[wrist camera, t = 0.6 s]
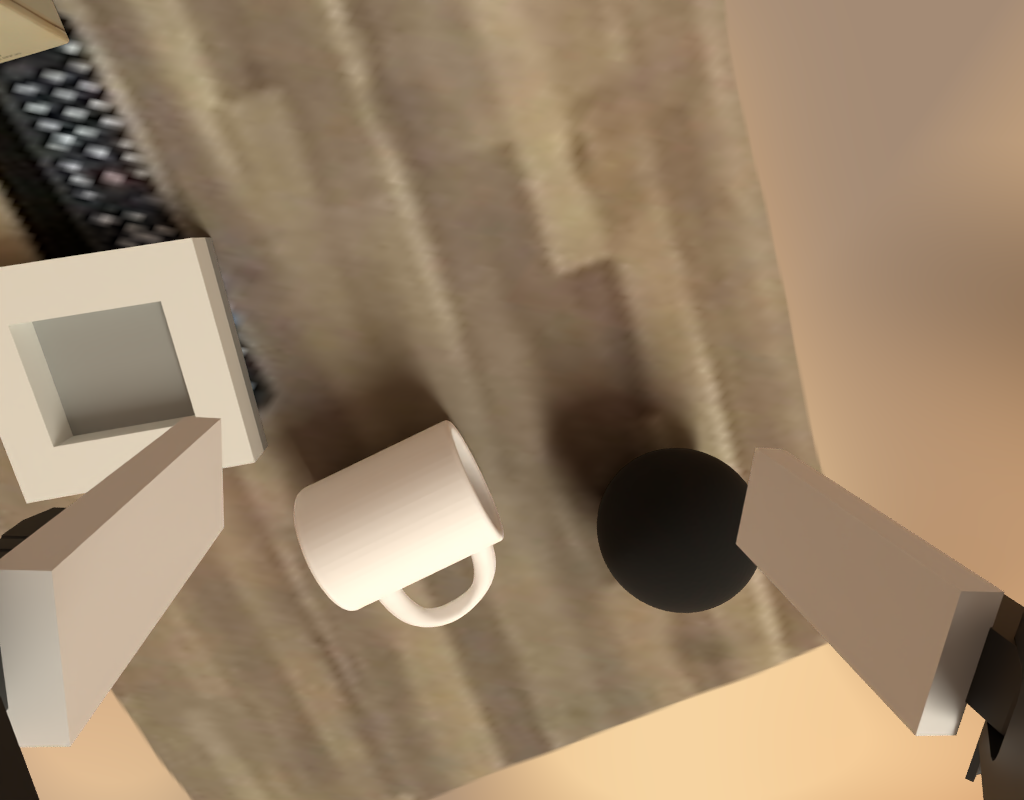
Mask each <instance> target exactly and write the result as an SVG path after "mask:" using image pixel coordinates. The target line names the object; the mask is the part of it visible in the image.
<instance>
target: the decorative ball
mask: <svg viewBox="0 0 1024 800" xmlns="http://www.w3.org/2000/svg"><path fill="white" fill-rule="evenodd" d="M747 487H748V485H747V484H746V482H745V481H744V480H743V479H742V478H741V477H740V475H739V474H738V473H737V472H736V471H734V470H733V469H732V468H731V467H730V466H728V465H727V464H725V463H724V462H722V461H721V460H719V459H717V458H715V457H713V456H711V455H708V454H706V453H703V452H700V451H696V450H691V449H683V448H669V449H661V450H657V451H653V452H650V453H647V454H644V455H642V456H640V457H638V458H636V459H635V460H633V461H631V462H630V463H629V464H627V465H626V466H625V467H623V468H622V469H621V470H620V471H619V472H618V473H617V474H616V476H615V477H614V478H613V479H612V481H611V482H610V484H609V485H608V487H607V489H606V491H605V493H604V495H603V497H602V500H601V503H600V507H599V511H598V518H597V535H598V542H599V546H600V550H601V553H602V556H603V558H604V561H605V563H606V565H607V567H608V568H609V570H610V572H611V573H612V575H613V576H614V577H615V579H616V580H617V581H618V582H619V583H620V585H621V586H622V587H623V588H624V589H625V590H627V591H628V592H629V593H630V594H631V595H633V596H634V597H636V598H637V599H639V600H640V601H642V602H644V603H646V604H648V605H650V606H653V607H655V608H658V609H661V610H665V611H670V612H677V613H692V612H699V611H704V610H708V609H711V608H714V607H716V606H719V605H721V604H723V603H725V602H726V601H728V600H730V599H731V598H732V597H734V596H735V595H736V594H737V593H738V592H740V591H741V590H742V589H743V588H744V587H745V585H746V584H747V583H748V582H749V580H750V579H751V577H752V576H753V574H754V572H755V570H756V568H757V566H756V565H755V564H754V563H753V562H752V561H751V560H750V558H749V557H748V556H747V555H746V554H745V553H744V552H743V551H742V550H741V549H740V548H739V547H738V546H737V545H736V541H737V536H738V531H739V526H740V521H741V516H742V512H743V507H744V502H745V497H746V492H747Z"/></svg>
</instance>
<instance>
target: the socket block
mask: <svg viewBox="0 0 1024 800" xmlns="http://www.w3.org/2000/svg"><path fill="white" fill-rule="evenodd" d="M186 416H187V417H205V418H221V432H222V468H227V467H232V466H238V465H243V464H249V463H255V462H256V460H257V459H258V458H259V457H260V455H261V454H262V453H263V451H264V450H265V449H266V448H267V446H268V444H267V441H266V437H265V433H264V430H263V426H262V422H261V419H260V415H259V411H258V408H257V404H256V400H255V397H254V393H253V389H252V386H251V382H250V378H249V375H248V371H247V367H246V364H245V360H244V356H243V353H242V349H241V345H240V342H239V338H238V334H237V331H236V327H235V323H234V320H233V316H232V312H231V309H230V305H229V301H228V298H227V294H226V290H225V287H224V283H223V279H222V276H221V272H220V268H219V265H218V261H217V257H216V254H215V250H214V246H213V243H212V239H211V237H209V238H187V239H181V240H174V241H168V242H161V243H155V244H148V245H142V246H135V247H128V248H122V249H115V250H109V251H102V252H96V253H89V254H83V255H76V256H69V257H63V258H56V259H50V260H43V261H37V262H30V263H24V264H17V265H11V266H4V267H0V437H1V440H2V442H3V445H4V447H5V450H6V452H7V455H8V457H9V460H10V462H11V465H12V467H13V470H14V473H15V475H16V478H17V480H18V483H19V485H20V488H21V490H22V493H23V495H24V498H25V500H26V503H31V502H36V501H42V500H48V499H53V498H59V497H64V496H70V495H76V494H81V493H87V492H88V491H89V490H91V489H92V488H93V487H94V486H96V485H97V484H98V483H100V482H101V481H102V480H104V479H105V478H106V477H107V476H109V475H110V474H111V473H113V472H114V471H115V470H117V469H118V468H119V467H121V466H122V465H123V464H124V463H126V462H127V461H128V460H130V459H131V458H132V457H134V456H135V455H136V454H138V453H139V452H140V451H141V450H143V449H144V448H145V447H147V446H148V445H149V444H151V443H152V442H153V441H154V440H156V439H157V438H158V437H160V436H161V435H162V434H164V433H165V432H166V431H168V430H169V429H170V428H171V427H173V426H174V425H175V424H177V423H178V422H179V421H181V420H182V419H183V418H184V417H186Z"/></svg>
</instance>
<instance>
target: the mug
mask: <svg viewBox="0 0 1024 800" xmlns="http://www.w3.org/2000/svg"><path fill="white" fill-rule="evenodd" d="M294 522H295V528H296V533H297V537H298V541H299V544H300V547H301V550H302V552H303V555H304V558H305V560H306V562H307V564H308V566H309V568H310V570H311V572H312V574H313V576H314V578H315V579H316V581H317V582H318V584H319V585H320V587H321V588H322V590H323V591H324V592H325V593H326V595H327V596H328V597H329V598H330V599H331V600H332V601H333V602H334V603H335V604H337V605H338V606H339V607H341V608H343V609H345V610H349V611H354V610H358V609H360V608H362V607H364V606H366V605H368V604H370V603H372V602H374V601H376V600H380V602H381V603H382V604H383V605H384V606H385V607H386V609H387V610H388V611H389V612H391V613H392V614H393V615H394V616H395V617H397V618H398V619H400V620H402V621H404V622H406V623H408V624H411V625H414V626H419V627H436V626H441V625H445V624H448V623H451V622H453V621H455V620H457V619H459V618H460V617H462V616H464V615H465V614H466V613H468V612H469V611H470V610H471V609H472V608H473V607H474V606H475V605H476V604H477V603H478V602H479V601H480V600H481V599H482V597H483V596H484V595H485V593H486V592H487V590H488V589H489V587H490V585H491V583H492V580H493V577H494V574H495V568H496V558H495V552H494V548H493V544H495V543H497V542H500V541H501V540H502V539H503V536H504V532H503V527H502V523H501V520H500V517H499V514H498V511H497V508H496V506H495V503H494V501H493V498H492V496H491V493H490V491H489V489H488V486H487V484H486V482H485V480H484V478H483V476H482V473H481V471H480V469H479V467H478V465H477V463H476V461H475V459H474V457H473V455H472V453H471V452H470V450H469V448H468V446H467V444H466V443H465V441H464V439H463V438H462V436H461V434H460V433H459V431H458V430H457V428H456V427H455V426H454V425H453V424H452V423H451V422H450V421H448V420H445V421H442V422H440V423H438V424H436V425H434V426H432V427H430V428H428V429H426V430H423V431H421V432H419V433H417V434H415V435H413V436H411V437H409V438H407V439H405V440H403V441H401V442H399V443H397V444H394V445H392V446H390V447H388V448H386V449H384V450H382V451H380V452H378V453H376V454H374V455H372V456H370V457H367V458H365V459H363V460H361V461H359V462H357V463H355V464H353V465H351V466H349V467H347V468H345V469H343V470H340V471H338V472H336V473H334V474H332V475H330V476H328V477H326V478H324V479H322V480H320V481H318V482H316V483H313V484H311V485H309V486H307V487H305V488H303V489H302V490H301V491H300V492H299V493H298V495H297V497H296V499H295V503H294ZM470 555H471V557H472V561H473V565H474V580H473V583H472V585H471V587H470V588H469V589H468V590H467V591H466V592H465V593H464V594H463V595H461V596H460V597H458V598H457V599H455V600H453V601H451V602H450V603H448V604H445V605H443V606H440V607H437V608H424V607H422V606H420V605H418V604H416V603H415V602H414V601H413V600H412V599H411V598H410V597H409V596H408V595H407V594H406V593H405V592H404V591H403V589H402V588H404V587H406V586H408V585H410V584H412V583H414V582H416V581H418V580H420V579H422V578H424V577H427V576H429V575H431V574H433V573H435V572H437V571H439V570H441V569H443V568H445V567H447V566H449V565H452V564H454V563H456V562H458V561H460V560H462V559H464V558H466V557H468V556H470Z"/></svg>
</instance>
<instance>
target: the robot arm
mask: <svg viewBox="0 0 1024 800" xmlns="http://www.w3.org/2000/svg"><path fill="white" fill-rule="evenodd" d="M223 528H224V510H223V471H222V432H221V418H205V417H187V416H186V417H184V418H183V419H182V420H181V421H179V422H178V423H177V424H175V425H174V426H173V427H171V428H170V429H169V430H168V431H166V432H165V433H164V434H162V435H161V436H160V437H158V438H157V439H156V440H154V441H153V442H152V443H151V444H149V445H148V446H147V447H145V448H144V449H143V450H141V451H140V452H139V453H138V454H136V455H135V456H134V457H132V458H131V459H130V460H128V461H127V462H126V463H124V464H123V465H122V466H121V467H119V468H118V469H117V470H115V471H114V472H113V473H111V474H110V475H109V476H107V477H106V478H105V479H104V480H102V481H101V482H100V483H98V484H97V485H96V486H94V487H93V488H92V489H91V490H89V491H88V492H87V493H85V494H84V495H83V496H81V497H80V498H79V499H77V500H76V501H75V502H74V503H72V504H71V505H70V506H68V507H67V508H52V509H49V510H47V511H44V512H42V513H39V514H37V515H34V516H32V517H30V518H27V519H25V520H23V521H21V522H20V523H18V524H17V525H16V526H14V527H13V528H11V529H10V530H9V531H7V532H6V533H4V534H3V535H2V537H1V539H0V800H39V798H38V795H37V792H36V790H35V787H34V784H33V782H32V779H31V776H30V773H29V771H28V768H27V765H26V763H25V760H24V757H23V755H22V752H21V749H20V747H66V746H67V747H68V746H69V747H70V746H71V745H72V743H73V742H74V741H75V739H76V738H77V736H78V735H79V733H80V732H81V731H82V729H83V728H84V726H85V725H86V723H87V722H88V721H89V719H90V718H91V716H92V715H93V713H94V712H95V710H96V709H97V707H98V706H99V705H100V703H101V702H102V701H103V699H104V698H105V696H106V695H107V693H108V692H109V691H110V689H111V688H112V686H113V685H114V683H115V682H116V681H117V679H118V678H119V676H120V675H121V674H122V672H123V671H124V669H125V668H126V666H127V665H128V664H129V662H130V661H131V659H132V658H133V656H134V655H135V654H136V652H137V651H138V649H139V648H140V646H141V645H142V644H143V642H144V641H145V639H146V638H147V636H148V635H149V634H150V632H151V631H152V629H153V628H154V626H155V625H156V624H157V622H158V621H159V619H160V618H161V616H162V615H163V614H164V612H165V611H166V609H167V608H168V607H169V605H170V604H171V602H172V601H173V599H174V598H175V597H176V595H177V594H178V592H179V591H180V589H181V588H182V587H183V585H184V584H185V582H186V581H187V579H188V578H189V577H190V575H191V574H192V572H193V571H194V569H195V568H196V567H197V565H198V564H199V562H200V561H201V559H202V558H203V557H204V555H205V554H206V552H207V551H208V549H209V548H210V547H211V545H212V544H213V542H214V541H215V540H216V538H217V537H218V535H219V534H220V532H221V531H222V530H223ZM736 545H737V546H738V547H739V548H740V549H741V550H742V551H743V552H744V553H745V554H746V555H747V556H748V557H749V558H750V560H751V561H752V562H753V563H754V564H755V565H756V566H757V567H758V568H759V569H760V570H761V571H762V572H763V573H764V574H765V576H766V577H767V578H768V579H769V580H770V581H771V582H772V583H773V584H774V585H775V586H776V587H777V588H778V589H779V590H780V592H781V593H782V594H783V595H784V596H785V597H786V598H787V599H788V600H789V601H790V602H791V603H792V604H793V605H794V607H795V608H796V609H797V610H798V611H799V612H800V613H801V614H802V615H803V616H804V617H805V618H806V619H807V620H808V621H809V623H810V624H811V625H812V626H813V627H814V628H815V629H816V630H817V631H818V632H819V633H820V634H821V635H822V636H823V637H824V639H825V640H826V641H827V642H828V643H829V644H830V645H831V646H832V647H833V648H834V649H835V650H836V651H837V652H838V653H839V655H840V656H841V657H842V658H843V659H844V660H845V661H846V662H847V663H848V664H849V665H850V666H851V667H852V668H853V670H854V671H855V672H856V673H857V674H858V675H859V676H860V677H861V678H862V679H863V680H864V681H865V682H866V683H867V684H868V686H869V687H871V689H872V690H873V691H874V692H875V693H876V694H877V695H878V696H879V697H880V698H881V699H882V700H883V702H884V703H885V704H886V705H887V706H888V707H889V708H890V709H891V710H892V711H893V712H894V713H895V714H896V715H897V716H898V718H899V719H900V720H901V721H902V722H903V723H904V724H905V725H906V726H907V727H908V728H909V729H910V730H911V731H912V732H913V734H914V735H916V736H928V735H929V736H931V735H933V736H934V735H935V736H936V735H956V734H957V731H958V728H959V725H960V722H961V719H962V716H963V713H964V710H965V707H966V704H968V705H970V706H971V707H972V708H973V709H974V710H975V711H976V712H977V713H979V714H980V715H981V716H982V717H983V718H984V719H985V723H984V726H983V729H982V732H981V735H980V738H979V740H978V743H977V746H976V749H975V752H974V755H973V758H972V761H971V763H970V767H969V769H968V772H967V775H966V779H968V780H970V781H972V782H973V781H974V779H975V777H976V775H978V774H981V775H982V787H983V798H984V800H1024V607H1023V606H1021V605H1020V604H1018V603H1017V602H1015V601H1014V600H1012V599H1011V598H1009V597H1008V596H1006V595H1004V592H1003V591H1002V590H1000V589H999V588H997V587H996V586H994V585H993V584H991V583H989V582H988V581H986V580H985V579H983V578H982V577H980V576H979V575H977V574H975V573H974V572H972V571H971V570H969V569H968V568H966V567H965V566H963V565H962V564H960V563H959V562H957V561H955V560H954V559H952V558H951V557H949V556H948V555H946V554H945V553H943V552H942V551H940V550H939V549H937V548H935V547H934V546H932V545H931V544H929V543H928V542H926V541H925V540H923V539H922V538H920V537H918V536H917V535H915V534H914V533H912V532H911V531H909V530H908V529H906V528H905V527H903V526H901V525H900V524H898V523H897V522H895V521H894V520H892V519H891V518H889V517H888V516H886V515H884V514H883V513H881V512H880V511H878V510H877V509H875V508H874V507H872V506H871V505H869V504H868V503H866V502H864V501H863V500H861V499H860V498H858V497H857V496H855V495H854V494H852V493H850V492H849V491H847V490H846V489H844V488H843V487H841V486H840V485H838V484H837V483H835V482H833V481H832V480H830V479H829V478H827V477H826V476H824V475H823V474H821V473H820V472H818V471H817V470H815V469H813V468H812V467H810V466H809V465H807V464H806V463H804V462H803V461H801V460H800V459H798V458H797V457H795V456H793V455H792V454H790V453H789V452H787V451H786V450H784V449H775V448H756V449H755V454H754V458H753V463H752V468H751V473H750V478H749V483H748V487H747V492H746V497H745V502H744V507H743V512H742V516H741V521H740V526H739V531H738V536H737V541H736Z"/></svg>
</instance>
